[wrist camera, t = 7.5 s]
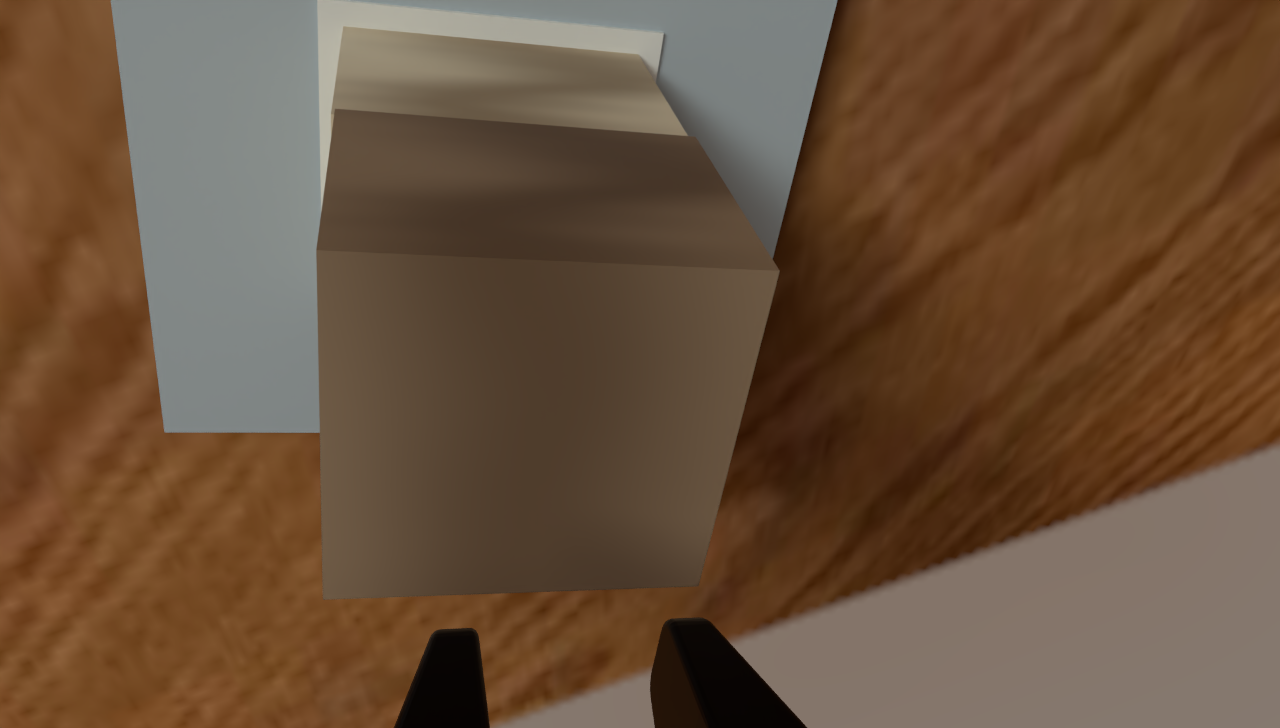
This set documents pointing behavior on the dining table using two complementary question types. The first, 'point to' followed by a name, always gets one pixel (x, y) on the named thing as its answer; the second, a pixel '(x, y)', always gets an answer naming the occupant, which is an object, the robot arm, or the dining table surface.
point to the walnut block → (527, 355)
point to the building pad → (300, 142)
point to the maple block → (498, 82)
